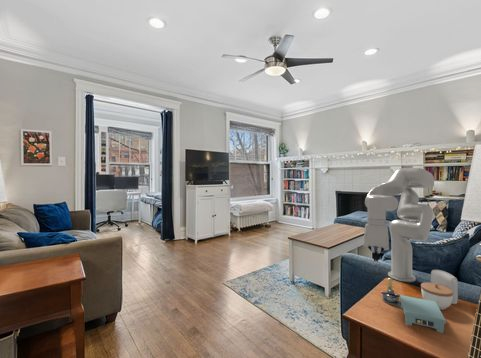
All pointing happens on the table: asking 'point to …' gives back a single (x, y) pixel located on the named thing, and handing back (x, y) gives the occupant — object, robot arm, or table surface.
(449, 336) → the table surface
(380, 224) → the robot arm
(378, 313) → the table surface
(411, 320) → the spoked knob panel
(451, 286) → the photo printer
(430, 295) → the lidded jar
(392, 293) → the cross handle valve
